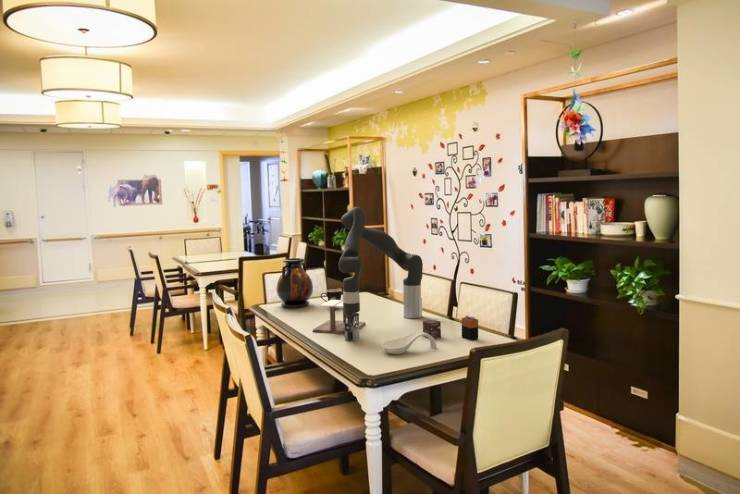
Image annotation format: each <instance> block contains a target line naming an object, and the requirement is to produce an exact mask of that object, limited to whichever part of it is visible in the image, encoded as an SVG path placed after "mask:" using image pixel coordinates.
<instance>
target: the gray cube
mask: <svg viewBox="0 0 740 494" xmlns="http://www.w3.org/2000/svg"><path fill="white" fill-rule="evenodd" d="M352 332H353V339H352V340H348V336H347V331H345V334H344V337H345V338H344V341H350V342H351V341H353V342H357V340H359V339H360V329H359V327H353V331H352Z"/></svg>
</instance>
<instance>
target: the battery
mask: <svg viewBox="0 0 740 494" xmlns="http://www.w3.org/2000/svg"><path fill="white" fill-rule="evenodd" d="M461 339H465V340H468V341H472V342H473V341H477V340H478V339H479V319H478V318H475V316H469V315H465V316H464V317H462V318H461Z"/></svg>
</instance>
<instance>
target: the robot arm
mask: <svg viewBox="0 0 740 494" xmlns="http://www.w3.org/2000/svg"><path fill="white" fill-rule="evenodd" d="M366 222H367V213H366V211H365V210H364V209H363V208H362V207H360V206H355V207H352V208H350V210H348V211H347V212H346V213H344V214H343V215H342V216H341V224H342V225H343V226H344V228H346V229H347V230H348V231H349V232H348V235H347V236H346V239H345V242H344V249H343V250H344V251H343V252H342V255H341V256H340V258H339V261H338V271H340V272H341V273H342V274H345V273H346V274H347V273H348V274H349V273H351V274H353V273H354V274H353V276H349V277H346V278H344V279H343V280H342V286H343V287H342V290H343V291H342V292H343V294H342V300H343V308H342V312H343V311H344V312H346V313H347V316H346V319H344V324H345V331H347V336H348V340H352V339H353V332H352V331H353V327H357V326H359V322H360V313H359V312H360V311H361V299H360V297H361V295H360V275H361V272H362V269H363V260H362V258H360V257H359V256H360V252H361V251H360V250H361V249H360V248H361V240H362V239H363V240H364V241H366V242H367V243H368V244H370V245H371V246H372V247H374V248H375V249H376V250H378V251H379V252H380V253H382V254H384V255H385V256H387V258H390V259H391V260H392V261H393V262H394V263H395V264H396V265H398V266H399V267H400V268H401V269H402V270H403V271H406V272H407V276H406V278H404V279H403V280H402V282H403V283H402V284H403V285H402V287H403V288H402V291H403V318H405V319H421V317H422V316H423V298H422V281H423V280H422V279H423V271H424V269H423V268H424V267H423V266H424V263H423V260H422V259H423V258H422V257H421V256H420V255H419V254H413V253H412V254H411V253H408V252H406V251H404V250H403V249H402V248H400V247H399V245H398V244H397V242H396V241H395V238H393V237H392V236H390V234H388V233H387V232H385V231H384V230H381V229H377V228H369V227H366ZM348 340H347V341H348Z"/></svg>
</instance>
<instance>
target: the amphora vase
mask: <svg viewBox="0 0 740 494" xmlns="http://www.w3.org/2000/svg"><path fill="white" fill-rule="evenodd" d="M305 261H306V260H305V259H304V258H303V257H302V258H301V257H299V258H298V257H292V258H290V257H289V258H285V259H283V260H282V262H283V263H285V265H283V266H282V269H281V275H280V277H279V278H278V280H277V284H276V294H277V297H278V298H279V299H280V300H281V301H282V303H281V304H280V305H281V307H283V308H286V309H301V308H306V307H308V306H309V305H310V301H309V300H310V298H311V297H312V295H313V292H314V284H313V281H312V278H311V277H310V275H309V274H308V273H307V267H306V263H305Z"/></svg>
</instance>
